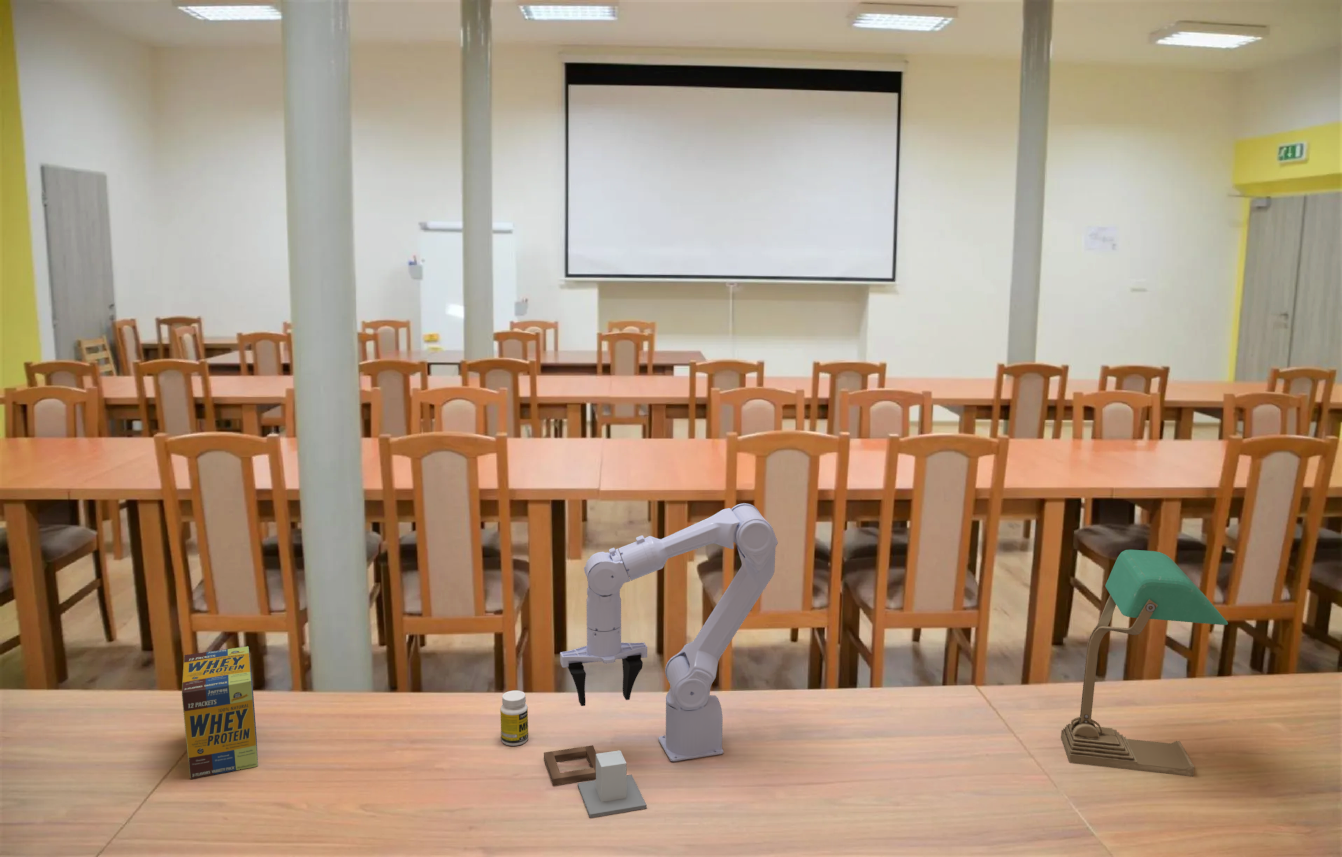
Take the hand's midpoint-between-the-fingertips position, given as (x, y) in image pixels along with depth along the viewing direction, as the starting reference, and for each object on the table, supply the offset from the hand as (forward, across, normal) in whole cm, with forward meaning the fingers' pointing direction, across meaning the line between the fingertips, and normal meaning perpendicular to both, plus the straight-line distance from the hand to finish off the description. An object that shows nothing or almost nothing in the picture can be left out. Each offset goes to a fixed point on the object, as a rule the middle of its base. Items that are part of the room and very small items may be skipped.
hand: (604, 700), depth 169 cm
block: (+9, -2, -13) cm, 16 cm away
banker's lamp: (+10, +86, -26) cm, 90 cm away
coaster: (+10, -2, -13) cm, 16 cm away
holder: (+10, -6, -3) cm, 12 cm away
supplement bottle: (+10, -14, +9) cm, 19 cm away
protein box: (+10, -62, +19) cm, 66 cm away
